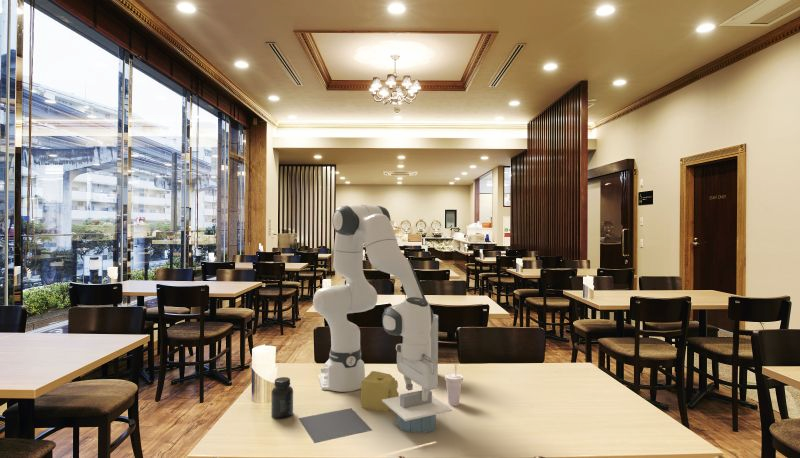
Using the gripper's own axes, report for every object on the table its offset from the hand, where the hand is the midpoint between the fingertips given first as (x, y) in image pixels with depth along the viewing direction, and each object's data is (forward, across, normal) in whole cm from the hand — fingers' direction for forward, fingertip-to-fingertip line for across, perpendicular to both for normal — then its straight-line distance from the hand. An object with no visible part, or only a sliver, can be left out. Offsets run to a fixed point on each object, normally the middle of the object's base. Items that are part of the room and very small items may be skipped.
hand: (416, 394), depth 141 cm
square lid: (+4, 0, 0) cm, 4 cm away
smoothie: (+10, +9, -20) cm, 24 cm away
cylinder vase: (+10, +38, -24) cm, 46 cm away
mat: (+10, +11, +23) cm, 27 cm away
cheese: (+10, +19, +4) cm, 22 cm away
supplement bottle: (+10, +25, +36) cm, 45 cm away
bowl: (+10, 0, 0) cm, 10 cm away
